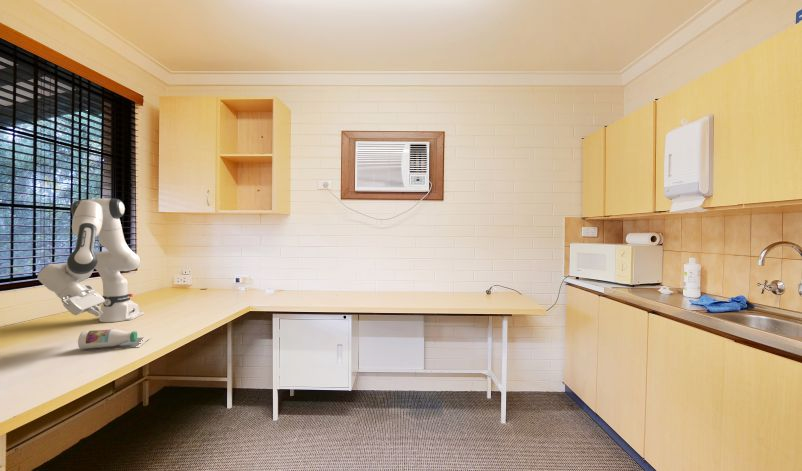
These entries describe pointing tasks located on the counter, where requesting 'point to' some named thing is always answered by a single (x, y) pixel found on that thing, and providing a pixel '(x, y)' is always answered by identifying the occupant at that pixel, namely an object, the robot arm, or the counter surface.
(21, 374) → the counter surface
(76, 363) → the counter surface
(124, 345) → the mat
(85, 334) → the milk bottle
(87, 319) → the counter surface
